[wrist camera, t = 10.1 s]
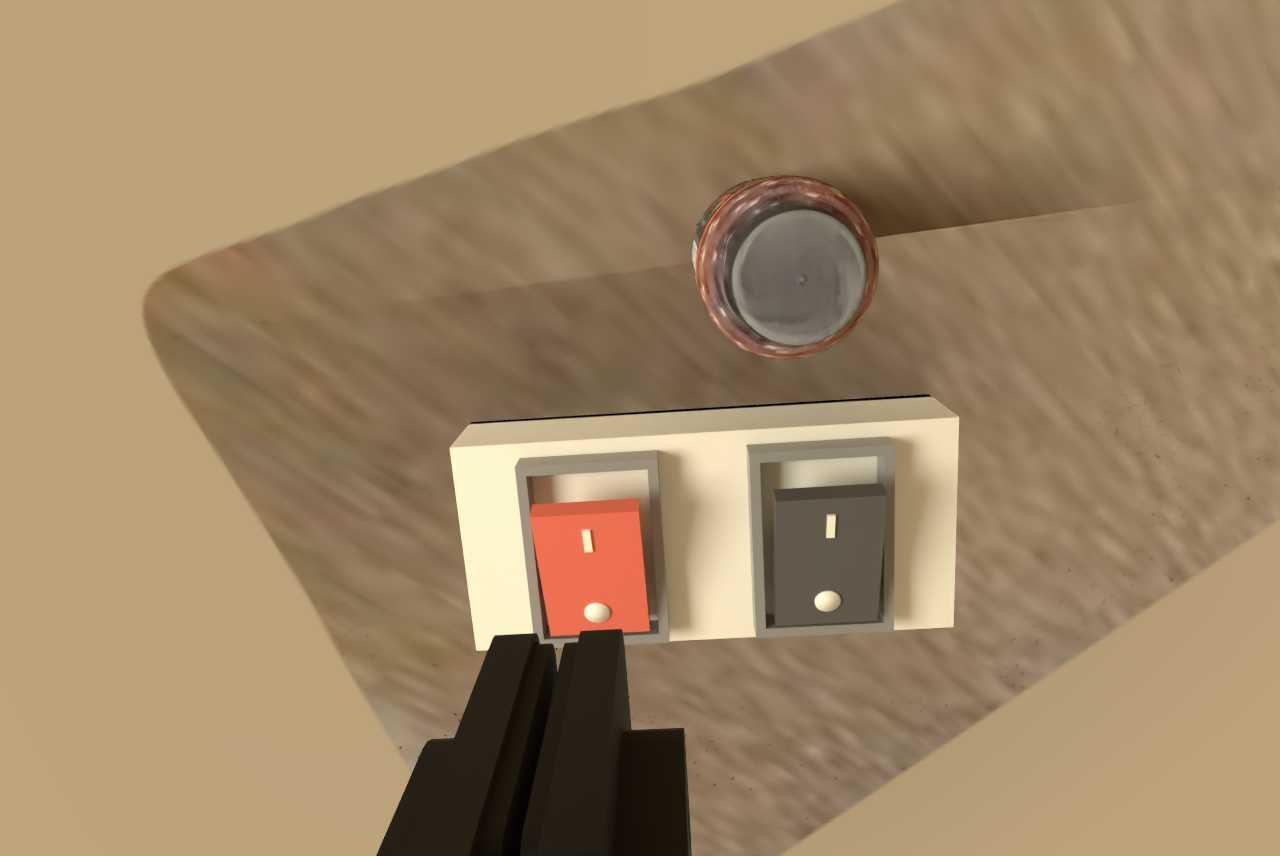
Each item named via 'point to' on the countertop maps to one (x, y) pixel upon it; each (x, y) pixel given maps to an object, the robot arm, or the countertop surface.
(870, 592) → the black rocker
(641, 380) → the countertop surface
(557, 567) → the red rocker
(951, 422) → the rocker switch panel
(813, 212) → the supplement bottle
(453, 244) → the countertop surface
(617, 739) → the robot arm
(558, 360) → the countertop surface
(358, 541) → the countertop surface
